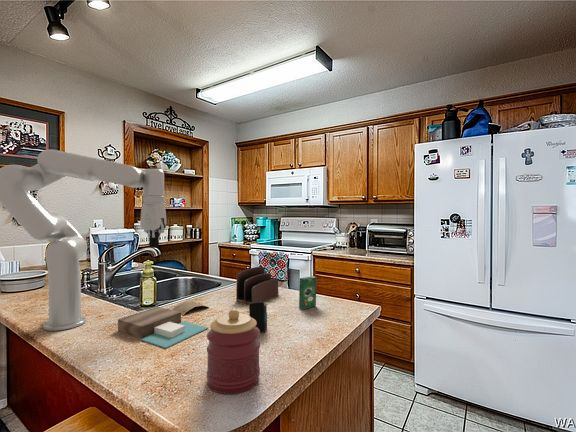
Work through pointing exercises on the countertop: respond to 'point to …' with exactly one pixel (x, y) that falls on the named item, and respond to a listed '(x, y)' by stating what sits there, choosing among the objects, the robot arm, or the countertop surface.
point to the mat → (168, 342)
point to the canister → (233, 353)
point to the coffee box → (307, 292)
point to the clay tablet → (186, 307)
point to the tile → (169, 329)
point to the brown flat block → (147, 321)
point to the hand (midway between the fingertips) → (154, 247)
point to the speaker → (259, 315)
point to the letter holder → (255, 286)
